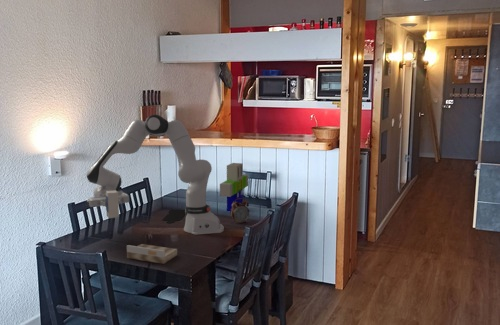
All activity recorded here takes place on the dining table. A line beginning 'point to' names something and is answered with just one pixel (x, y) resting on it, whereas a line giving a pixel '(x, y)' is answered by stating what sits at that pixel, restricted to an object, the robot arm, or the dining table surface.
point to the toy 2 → (234, 184)
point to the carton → (112, 204)
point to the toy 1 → (174, 216)
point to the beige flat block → (151, 253)
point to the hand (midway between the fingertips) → (112, 203)
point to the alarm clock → (239, 211)
